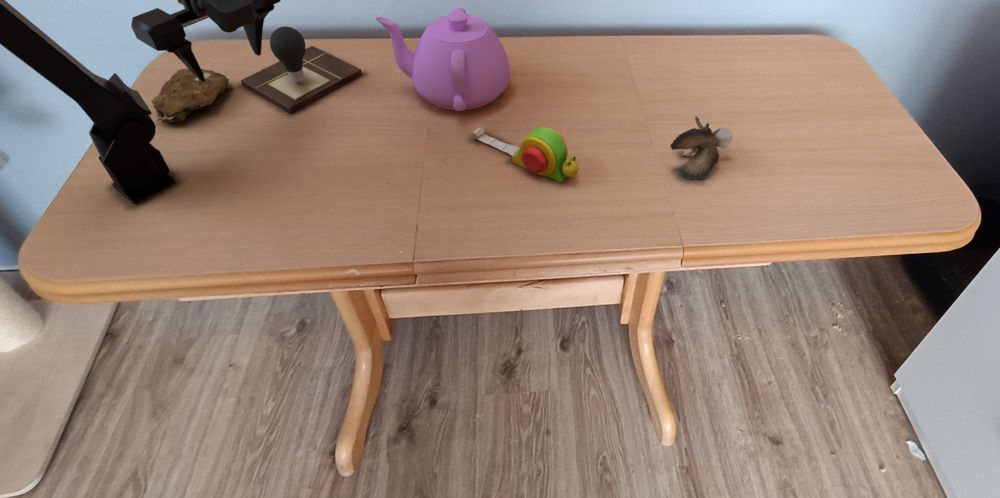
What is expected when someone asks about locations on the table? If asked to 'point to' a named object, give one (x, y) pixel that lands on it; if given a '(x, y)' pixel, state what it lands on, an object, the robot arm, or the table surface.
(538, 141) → the toy measuring tape
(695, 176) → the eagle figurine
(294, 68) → the light bulb
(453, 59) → the teapot
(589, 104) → the table surface
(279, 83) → the picture frame
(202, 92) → the decorative rock
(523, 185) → the table surface
